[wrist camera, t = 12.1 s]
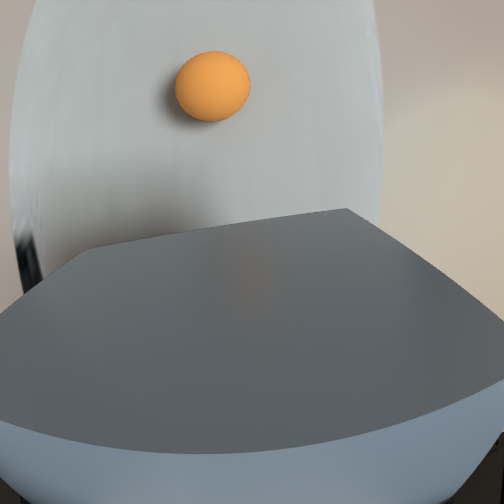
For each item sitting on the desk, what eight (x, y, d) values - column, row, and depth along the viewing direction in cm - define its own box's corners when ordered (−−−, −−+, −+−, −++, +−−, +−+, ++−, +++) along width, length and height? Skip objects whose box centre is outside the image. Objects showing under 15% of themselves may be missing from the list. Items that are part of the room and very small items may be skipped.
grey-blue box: (346, 405, 14) (390, 552, 5) (158, 423, 14) (123, 560, 6) (346, 208, 10) (541, 356, 2) (85, 249, 11) (-75, 385, 2)
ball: (242, 35, 16) (250, 89, 21) (170, 49, 17) (187, 101, 21) (249, 66, 14) (257, 129, 19) (161, 83, 14) (184, 142, 19)
